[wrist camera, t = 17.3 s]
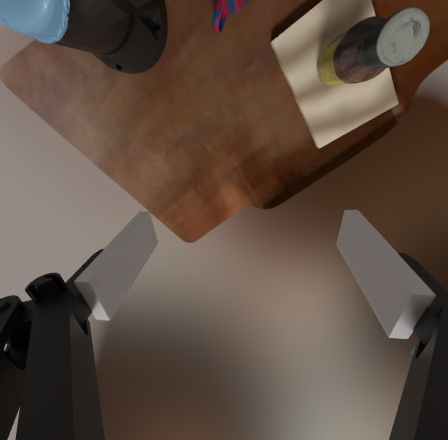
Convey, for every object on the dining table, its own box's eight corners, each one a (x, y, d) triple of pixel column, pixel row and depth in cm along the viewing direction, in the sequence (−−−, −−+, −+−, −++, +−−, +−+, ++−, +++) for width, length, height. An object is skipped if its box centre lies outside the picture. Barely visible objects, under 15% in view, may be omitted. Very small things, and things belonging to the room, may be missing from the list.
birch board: (270, 44, 36) (271, 41, 35) (356, -26, 31) (362, -33, 30) (316, 146, 44) (319, 148, 42) (391, 103, 39) (398, 103, 37)
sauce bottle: (359, 37, 33) (473, -20, 16) (349, 85, 36) (435, 78, 19) (316, 40, 34) (381, -12, 17) (309, 86, 37) (359, 81, 20)
